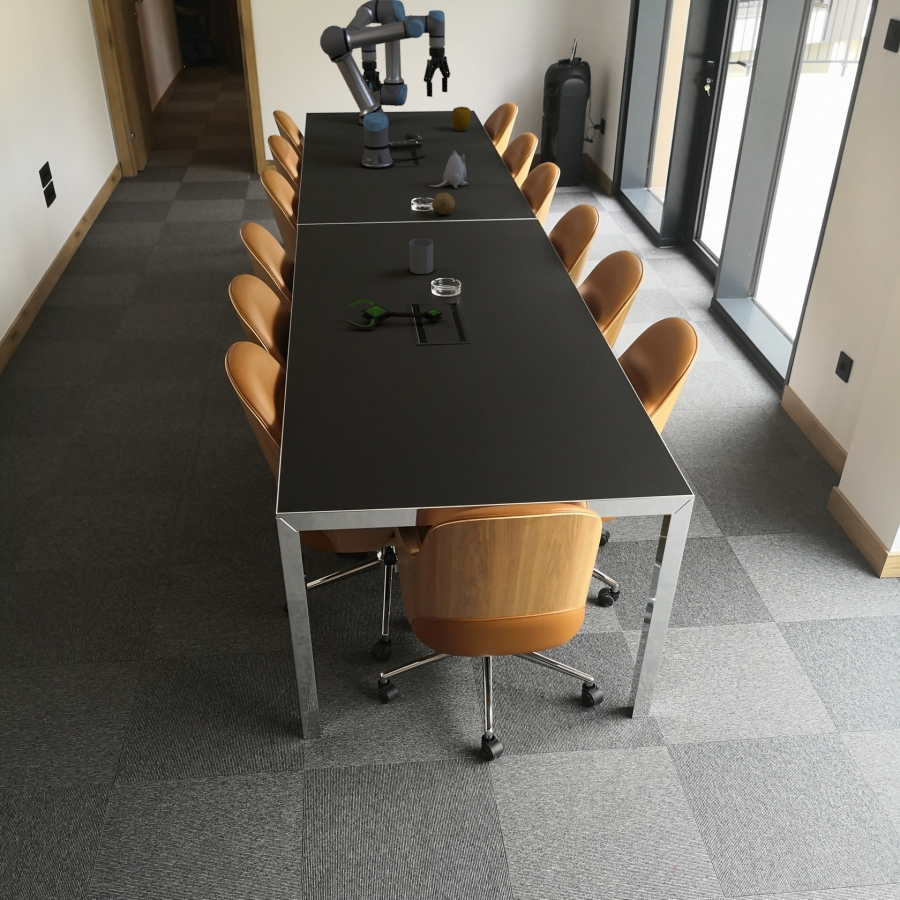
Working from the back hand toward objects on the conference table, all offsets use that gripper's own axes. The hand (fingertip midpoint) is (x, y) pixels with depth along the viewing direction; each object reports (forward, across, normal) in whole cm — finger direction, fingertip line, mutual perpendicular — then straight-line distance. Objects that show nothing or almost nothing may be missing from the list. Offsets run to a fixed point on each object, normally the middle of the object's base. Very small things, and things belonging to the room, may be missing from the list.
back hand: (371, 108), depth 453 cm
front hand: (-12, +4, +44) cm, 45 cm away
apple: (+19, -53, +23) cm, 61 cm away
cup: (+17, +139, +124) cm, 187 cm away
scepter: (+16, +180, +142) cm, 230 cm away
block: (+2, 0, 0) cm, 2 cm away
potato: (+17, +80, +96) cm, 126 cm away
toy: (+18, +48, +78) cm, 93 cm away
